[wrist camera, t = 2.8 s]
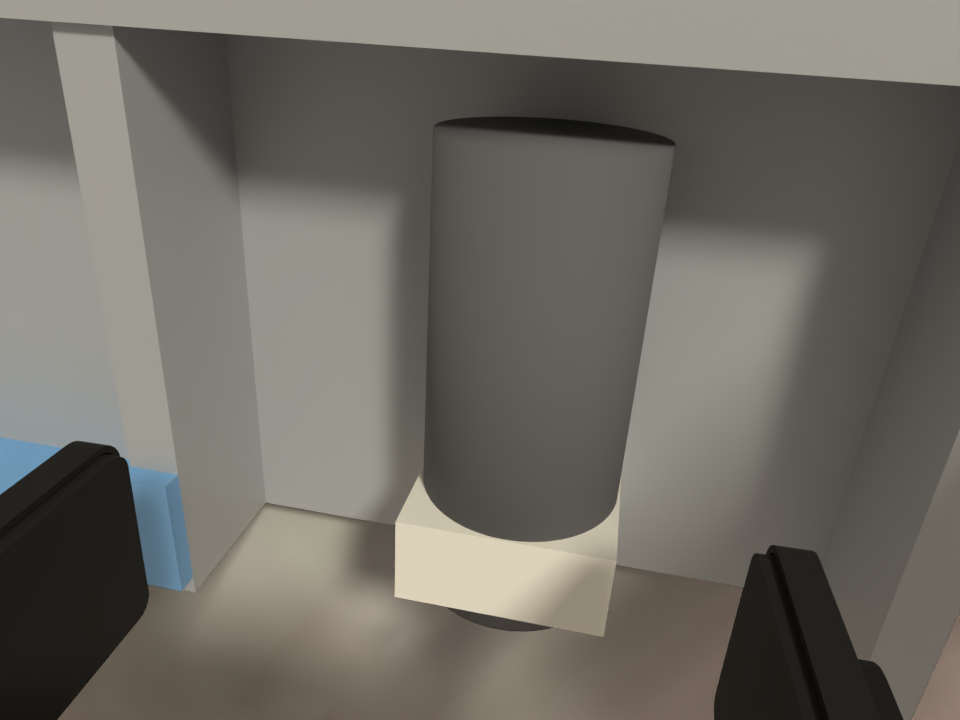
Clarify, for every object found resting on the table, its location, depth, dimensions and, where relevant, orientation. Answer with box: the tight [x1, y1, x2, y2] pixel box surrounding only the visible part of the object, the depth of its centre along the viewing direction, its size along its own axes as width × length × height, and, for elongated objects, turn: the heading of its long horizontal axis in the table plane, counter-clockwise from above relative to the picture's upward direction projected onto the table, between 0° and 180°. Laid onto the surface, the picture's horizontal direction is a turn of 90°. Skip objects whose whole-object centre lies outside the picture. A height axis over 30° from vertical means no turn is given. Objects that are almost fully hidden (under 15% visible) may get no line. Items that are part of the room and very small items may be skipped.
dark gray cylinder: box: [395, 117, 676, 637], centre depth 16 cm, size 10×4×4 cm, turn 177°
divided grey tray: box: [0, 0, 960, 720], centre depth 17 cm, size 34×14×5 cm, turn 87°
